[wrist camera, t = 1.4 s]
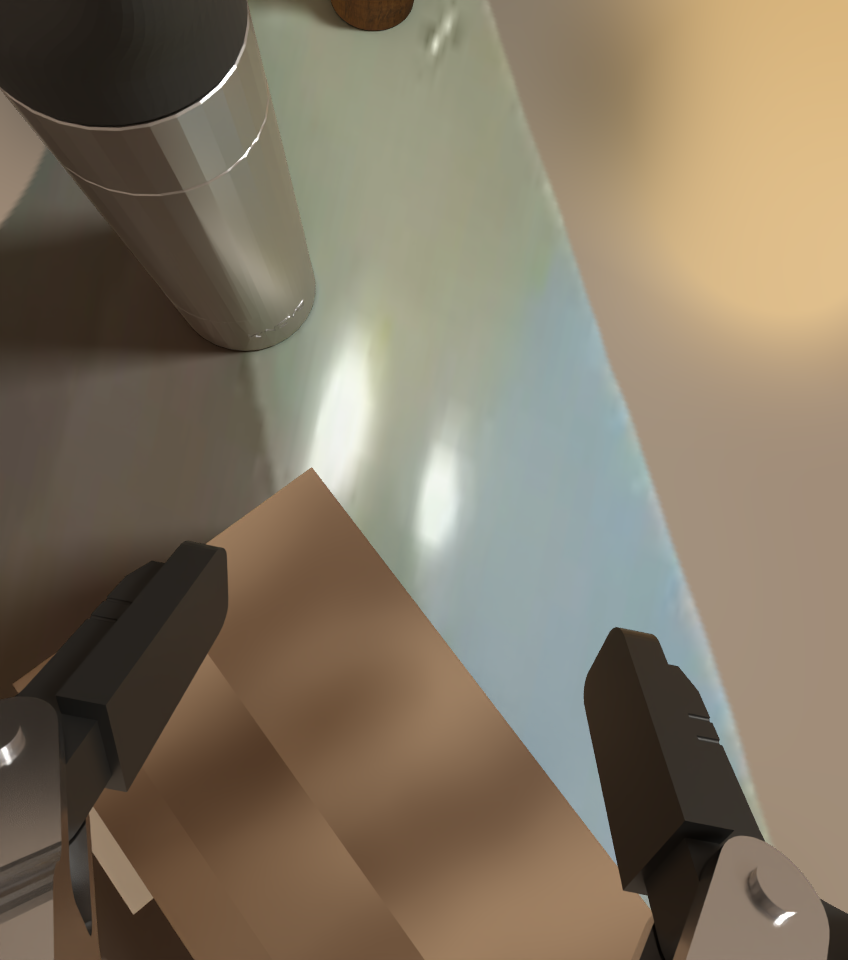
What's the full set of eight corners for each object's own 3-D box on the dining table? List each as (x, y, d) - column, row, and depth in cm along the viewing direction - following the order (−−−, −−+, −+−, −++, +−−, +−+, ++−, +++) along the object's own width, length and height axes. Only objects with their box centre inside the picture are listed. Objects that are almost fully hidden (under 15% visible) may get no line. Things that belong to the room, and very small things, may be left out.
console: (217, 621, 30) (12, 684, 14) (350, 520, 32) (311, 467, 15) (442, 935, 28) (522, 1457, 12) (571, 810, 30) (804, 1111, 13)
